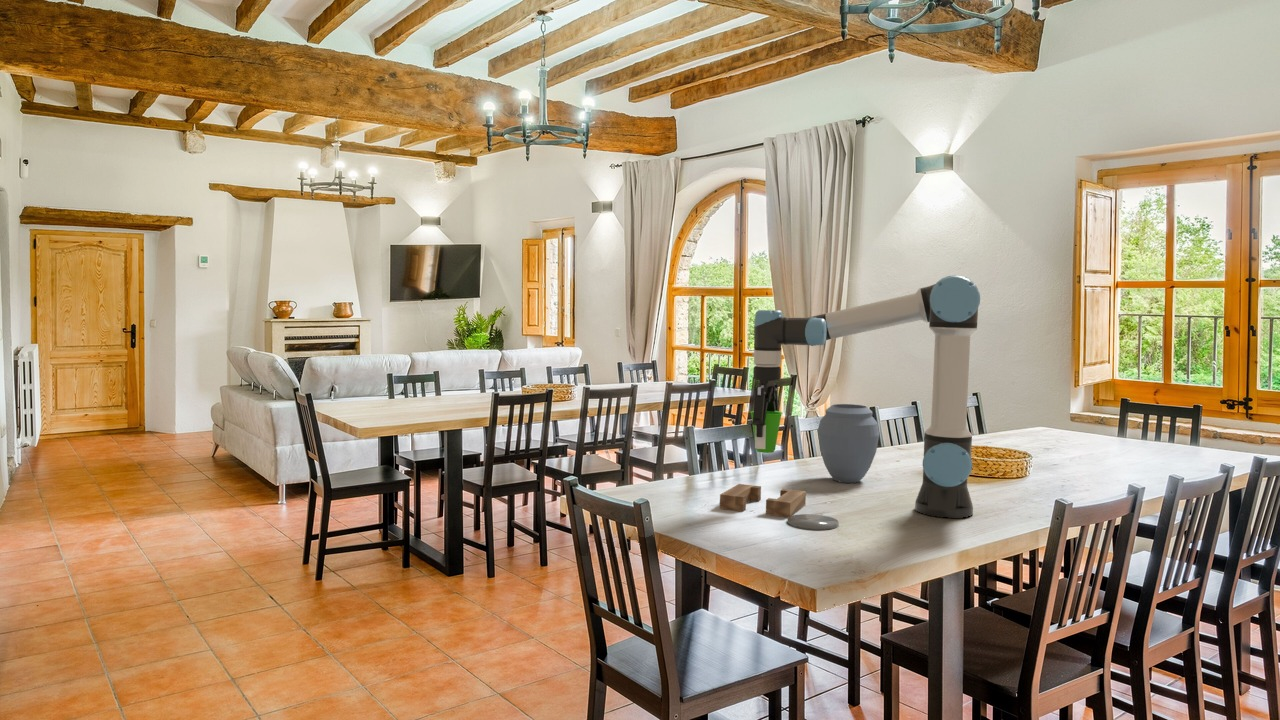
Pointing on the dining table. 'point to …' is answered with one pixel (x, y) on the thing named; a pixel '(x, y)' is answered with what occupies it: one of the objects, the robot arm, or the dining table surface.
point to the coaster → (813, 522)
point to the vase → (848, 441)
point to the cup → (770, 430)
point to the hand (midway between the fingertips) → (765, 446)
